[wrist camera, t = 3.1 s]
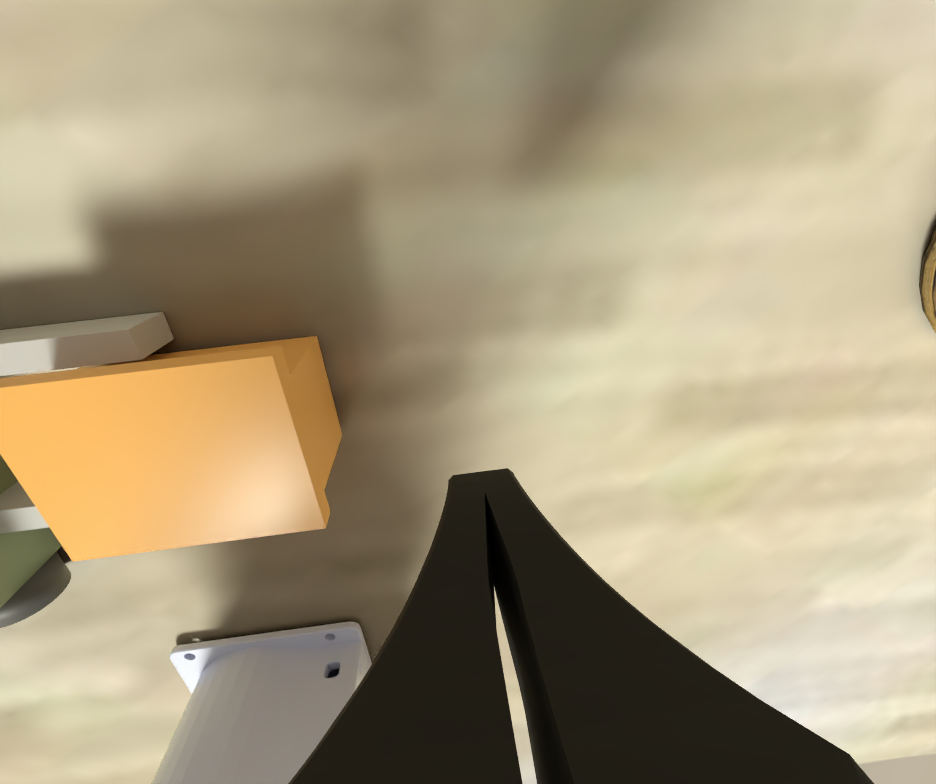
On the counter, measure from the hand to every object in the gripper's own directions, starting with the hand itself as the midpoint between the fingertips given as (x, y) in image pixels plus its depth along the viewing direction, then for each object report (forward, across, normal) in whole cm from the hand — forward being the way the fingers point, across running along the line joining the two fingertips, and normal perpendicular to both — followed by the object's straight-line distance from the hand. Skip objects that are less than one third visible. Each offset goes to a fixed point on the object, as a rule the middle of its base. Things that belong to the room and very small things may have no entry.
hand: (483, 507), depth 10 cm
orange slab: (+8, +9, 0) cm, 12 cm away
